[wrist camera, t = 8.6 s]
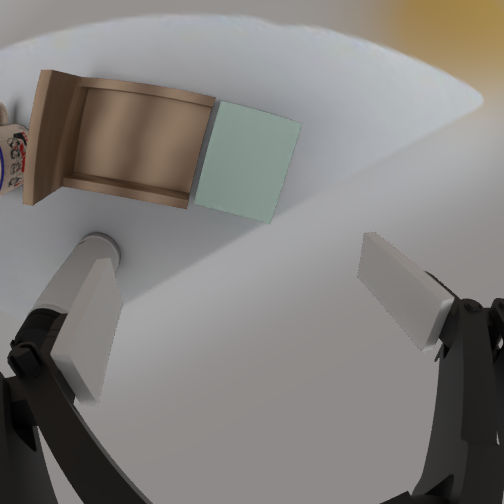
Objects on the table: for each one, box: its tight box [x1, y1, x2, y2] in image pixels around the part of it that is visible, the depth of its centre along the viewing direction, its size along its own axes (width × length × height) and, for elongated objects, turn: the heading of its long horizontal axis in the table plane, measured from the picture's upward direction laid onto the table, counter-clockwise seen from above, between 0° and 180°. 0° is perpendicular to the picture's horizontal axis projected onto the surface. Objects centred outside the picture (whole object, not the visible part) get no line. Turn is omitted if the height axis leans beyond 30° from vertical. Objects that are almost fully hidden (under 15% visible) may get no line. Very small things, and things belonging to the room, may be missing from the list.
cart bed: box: [23, 70, 215, 209], centre depth 26 cm, size 16×12×12 cm
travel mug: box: [10, 233, 120, 350], centre depth 28 cm, size 6×7×20 cm
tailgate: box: [194, 101, 302, 224], centre depth 33 cm, size 2×12×9 cm
